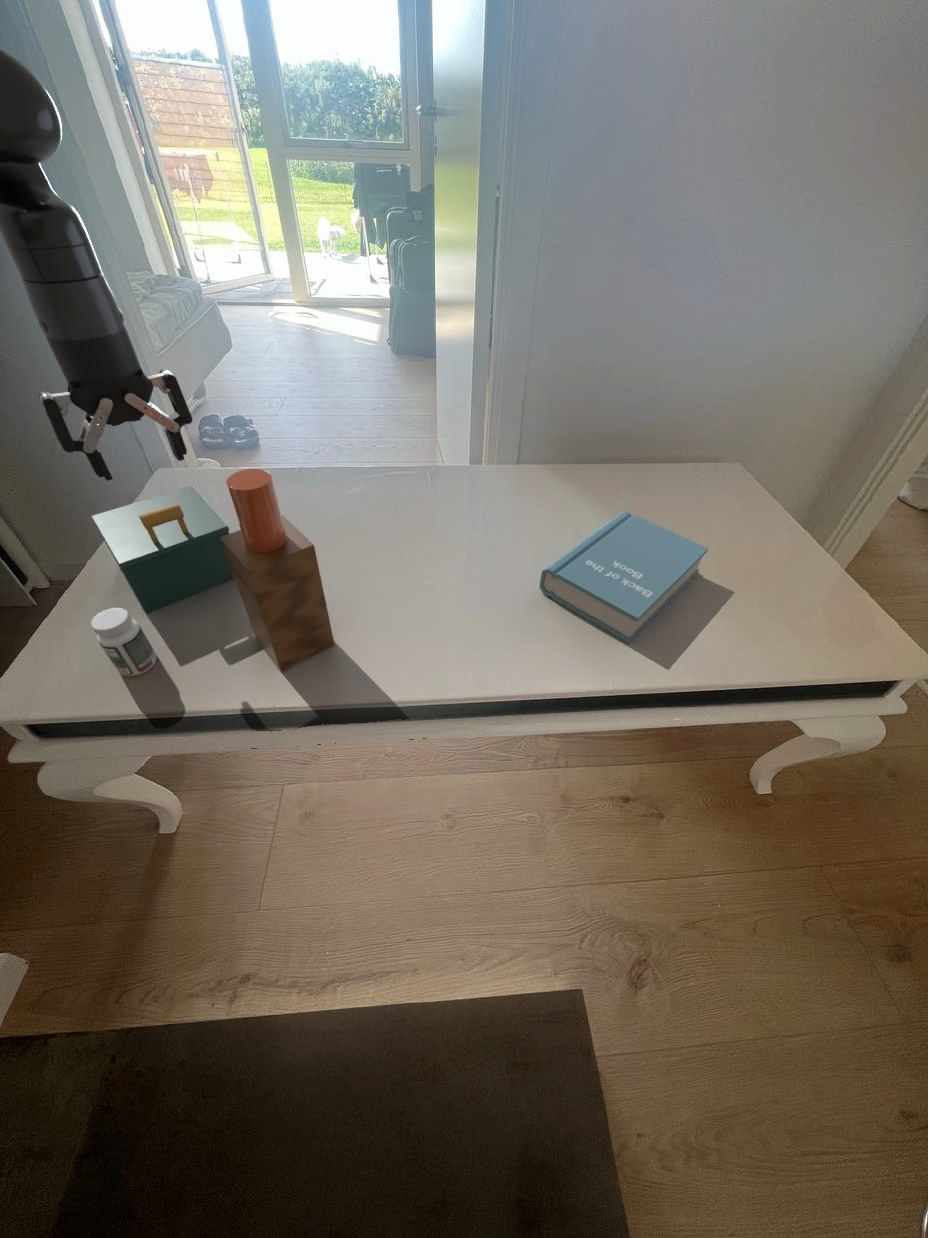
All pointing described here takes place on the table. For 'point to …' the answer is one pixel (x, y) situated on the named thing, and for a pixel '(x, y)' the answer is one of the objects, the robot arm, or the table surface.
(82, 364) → the robot arm
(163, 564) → the chest
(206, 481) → the table surface
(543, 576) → the book
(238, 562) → the stand
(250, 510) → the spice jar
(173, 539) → the lid
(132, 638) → the pill bottle
